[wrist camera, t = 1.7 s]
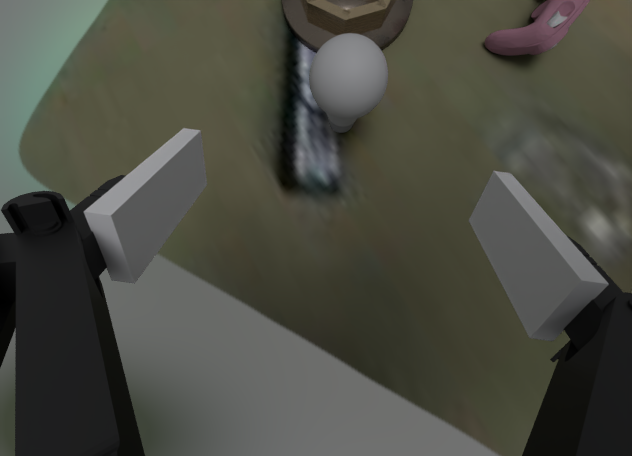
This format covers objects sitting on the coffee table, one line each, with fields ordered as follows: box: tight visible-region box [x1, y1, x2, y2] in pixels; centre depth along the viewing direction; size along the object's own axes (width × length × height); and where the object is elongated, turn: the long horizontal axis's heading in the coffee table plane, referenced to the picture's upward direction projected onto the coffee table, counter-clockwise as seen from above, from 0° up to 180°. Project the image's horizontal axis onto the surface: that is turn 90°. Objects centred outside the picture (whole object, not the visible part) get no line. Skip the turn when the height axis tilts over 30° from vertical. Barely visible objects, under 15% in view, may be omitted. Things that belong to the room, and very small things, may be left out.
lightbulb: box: [309, 33, 388, 133], centre depth 27 cm, size 6×6×11 cm
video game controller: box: [485, 0, 590, 56], centre depth 31 cm, size 10×5×7 cm, turn 146°
